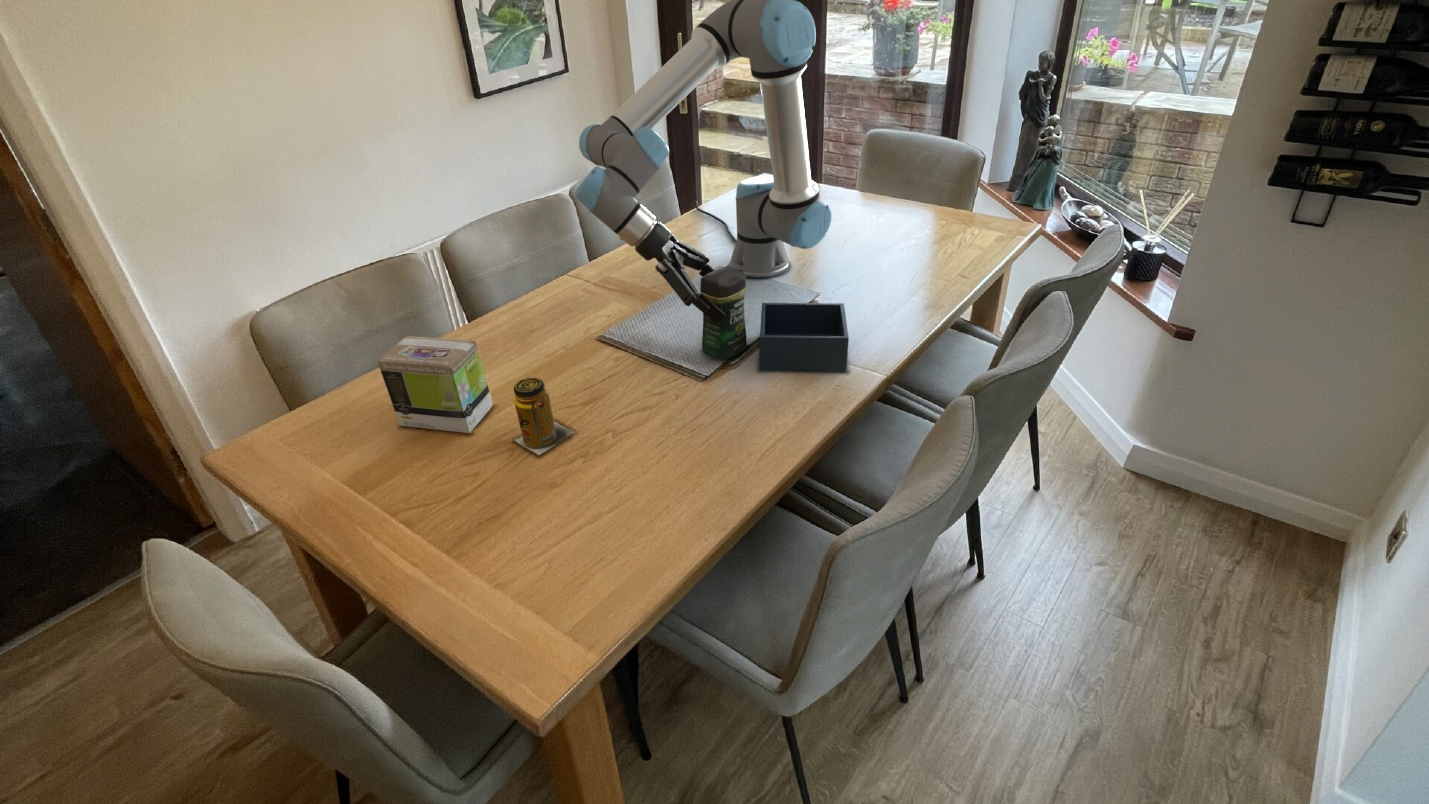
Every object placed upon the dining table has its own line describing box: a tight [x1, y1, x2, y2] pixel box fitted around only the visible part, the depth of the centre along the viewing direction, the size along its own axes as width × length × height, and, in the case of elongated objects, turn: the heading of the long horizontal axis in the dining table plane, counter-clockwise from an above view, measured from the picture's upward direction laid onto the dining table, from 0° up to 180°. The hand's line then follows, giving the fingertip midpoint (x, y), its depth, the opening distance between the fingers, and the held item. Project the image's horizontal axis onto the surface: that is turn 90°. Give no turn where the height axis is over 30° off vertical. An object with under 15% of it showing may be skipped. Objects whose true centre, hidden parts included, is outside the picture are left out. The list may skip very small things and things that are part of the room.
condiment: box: [513, 377, 575, 456], centre depth 130 cm, size 7×8×12 cm
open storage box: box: [759, 302, 850, 373], centre depth 153 cm, size 15×18×8 cm
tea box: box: [377, 335, 493, 434], centre depth 136 cm, size 15×10×15 cm, turn 77°
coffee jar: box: [699, 264, 748, 361], centre depth 152 cm, size 10×8×19 cm
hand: (723, 303), depth 151 cm, fingers open, 13 cm apart
